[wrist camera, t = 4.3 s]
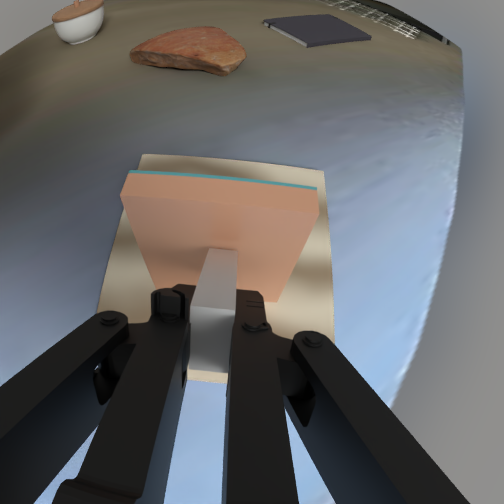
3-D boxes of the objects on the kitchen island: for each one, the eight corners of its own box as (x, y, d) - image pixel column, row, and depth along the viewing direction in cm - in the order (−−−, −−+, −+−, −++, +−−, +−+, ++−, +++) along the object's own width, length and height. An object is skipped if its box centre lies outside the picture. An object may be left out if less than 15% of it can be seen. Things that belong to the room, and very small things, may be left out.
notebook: (306, 50, 46) (370, 41, 54) (307, 43, 45) (371, 36, 53) (260, 26, 50) (328, 19, 58) (261, 19, 49) (329, 14, 56)
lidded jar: (57, 41, 45) (49, 6, 36) (102, 24, 48) (97, -11, 40) (60, 55, 41) (51, 15, 33) (112, 35, 45) (107, -5, 36)
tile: (276, 302, 23) (319, 213, 14) (156, 290, 23) (120, 195, 13) (277, 283, 24) (316, 187, 15) (160, 271, 23) (129, 169, 14)
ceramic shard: (163, 65, 31) (125, 45, 37) (176, 106, 36) (136, 77, 43) (261, 28, 34) (205, 13, 41) (265, 66, 40) (211, 44, 46)
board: (330, 387, 22) (334, 386, 21) (93, 363, 20) (88, 361, 20) (320, 177, 31) (323, 171, 30) (144, 160, 30) (142, 153, 29)
